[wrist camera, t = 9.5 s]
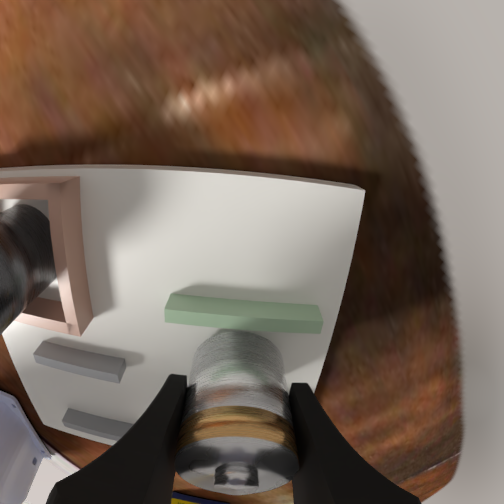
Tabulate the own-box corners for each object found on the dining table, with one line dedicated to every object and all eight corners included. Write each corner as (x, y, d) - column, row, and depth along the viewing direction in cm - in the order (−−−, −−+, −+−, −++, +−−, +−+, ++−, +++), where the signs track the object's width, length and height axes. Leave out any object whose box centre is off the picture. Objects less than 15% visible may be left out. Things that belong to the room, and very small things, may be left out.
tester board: (285, 450, 19) (289, 481, 16) (49, 413, 18) (36, 438, 15) (355, 184, 12) (381, 199, 10) (-16, 169, 11) (-51, 180, 9)
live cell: (273, 399, 14) (284, 508, 9) (190, 390, 14) (173, 500, 8) (293, 336, 13) (319, 460, 7) (195, 324, 12) (169, 450, 7)
